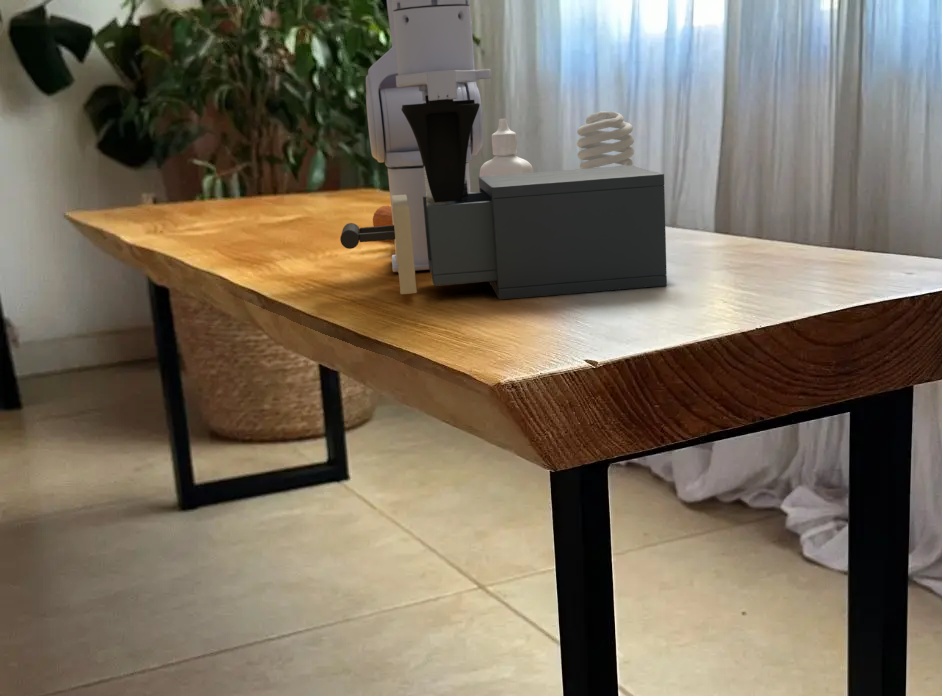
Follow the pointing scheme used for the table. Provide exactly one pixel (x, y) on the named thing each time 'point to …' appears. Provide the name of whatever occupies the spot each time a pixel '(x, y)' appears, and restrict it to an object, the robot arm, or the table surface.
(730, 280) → the table surface
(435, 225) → the drawer
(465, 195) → the cylinder
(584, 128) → the light bulb
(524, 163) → the eye dropper bottle
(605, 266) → the cabinet
